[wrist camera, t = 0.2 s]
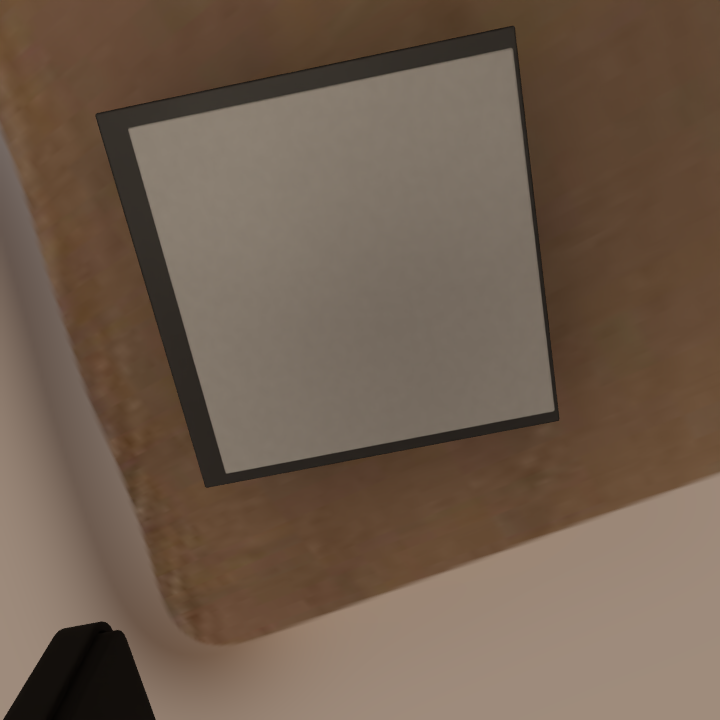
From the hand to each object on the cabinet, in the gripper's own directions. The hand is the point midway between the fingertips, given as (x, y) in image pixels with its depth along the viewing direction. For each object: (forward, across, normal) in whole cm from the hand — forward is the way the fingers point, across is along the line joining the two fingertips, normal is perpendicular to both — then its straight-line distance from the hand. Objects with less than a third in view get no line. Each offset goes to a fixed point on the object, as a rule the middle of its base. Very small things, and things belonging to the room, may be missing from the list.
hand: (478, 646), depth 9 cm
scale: (+18, +1, -2) cm, 18 cm away
